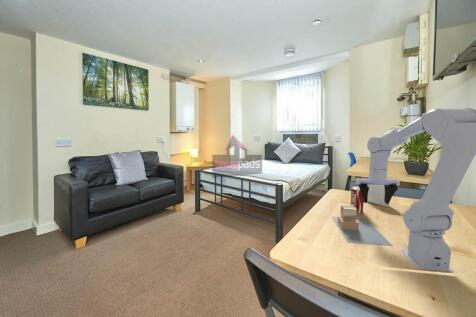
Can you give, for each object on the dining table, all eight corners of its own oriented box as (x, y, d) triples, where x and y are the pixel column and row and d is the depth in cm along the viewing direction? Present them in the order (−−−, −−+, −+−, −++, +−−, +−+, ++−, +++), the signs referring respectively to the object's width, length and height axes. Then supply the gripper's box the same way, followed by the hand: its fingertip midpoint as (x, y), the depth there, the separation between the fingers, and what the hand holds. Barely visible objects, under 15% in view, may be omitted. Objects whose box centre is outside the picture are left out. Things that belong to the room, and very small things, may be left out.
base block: (358, 230, 80) (359, 222, 80) (341, 229, 81) (342, 221, 81) (353, 223, 86) (353, 216, 85) (337, 222, 87) (337, 215, 87)
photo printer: (390, 206, 106) (392, 182, 104) (386, 207, 104) (388, 183, 102) (370, 200, 115) (371, 178, 113) (365, 201, 113) (366, 179, 111)
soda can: (364, 214, 95) (366, 189, 94) (352, 214, 96) (353, 189, 95) (360, 210, 100) (361, 186, 99) (348, 210, 102) (350, 186, 100)
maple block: (356, 221, 81) (356, 209, 80) (343, 221, 81) (344, 208, 81) (352, 217, 85) (352, 205, 84) (340, 216, 86) (340, 204, 85)
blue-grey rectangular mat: (392, 247, 69) (393, 245, 69) (347, 243, 72) (347, 242, 72) (365, 219, 90) (365, 218, 90) (331, 217, 93) (331, 216, 93)
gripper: (393, 167, 82) (391, 200, 84) (353, 166, 85) (352, 198, 87) (404, 170, 75) (401, 206, 77) (360, 169, 78) (358, 204, 80)
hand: (375, 202), depth 81 cm, fingers open, 7 cm apart
